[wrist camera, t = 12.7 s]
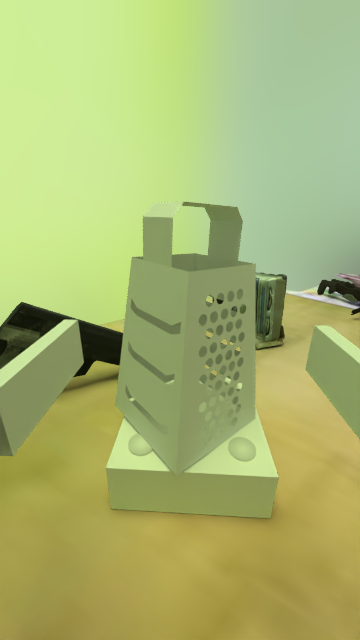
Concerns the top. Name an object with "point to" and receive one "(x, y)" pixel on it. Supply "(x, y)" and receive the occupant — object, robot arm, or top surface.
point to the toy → (342, 290)
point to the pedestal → (195, 471)
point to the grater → (188, 336)
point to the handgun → (37, 322)
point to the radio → (267, 309)
